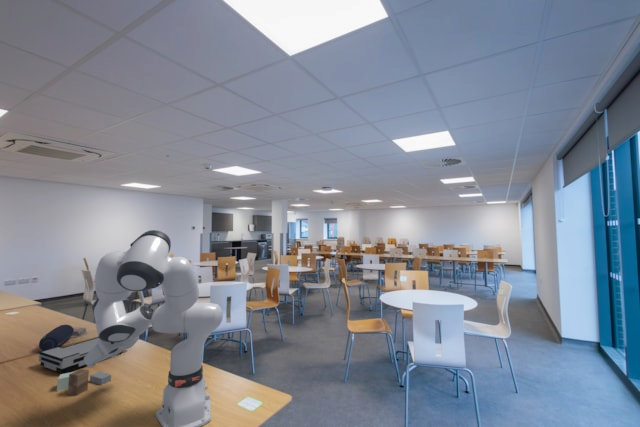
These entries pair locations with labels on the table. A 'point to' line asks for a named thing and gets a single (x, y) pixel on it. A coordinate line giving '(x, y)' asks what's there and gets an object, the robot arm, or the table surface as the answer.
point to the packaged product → (78, 332)
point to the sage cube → (63, 381)
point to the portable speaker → (56, 337)
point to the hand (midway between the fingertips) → (101, 361)
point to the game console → (68, 356)
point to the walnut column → (78, 382)
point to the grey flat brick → (100, 378)
